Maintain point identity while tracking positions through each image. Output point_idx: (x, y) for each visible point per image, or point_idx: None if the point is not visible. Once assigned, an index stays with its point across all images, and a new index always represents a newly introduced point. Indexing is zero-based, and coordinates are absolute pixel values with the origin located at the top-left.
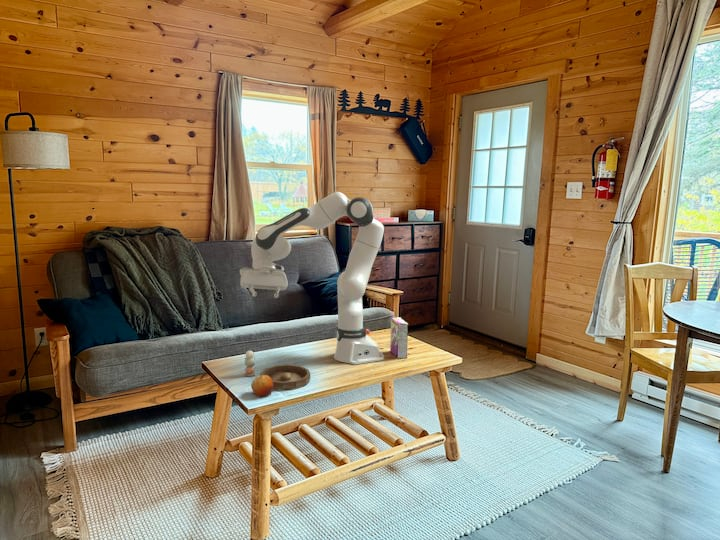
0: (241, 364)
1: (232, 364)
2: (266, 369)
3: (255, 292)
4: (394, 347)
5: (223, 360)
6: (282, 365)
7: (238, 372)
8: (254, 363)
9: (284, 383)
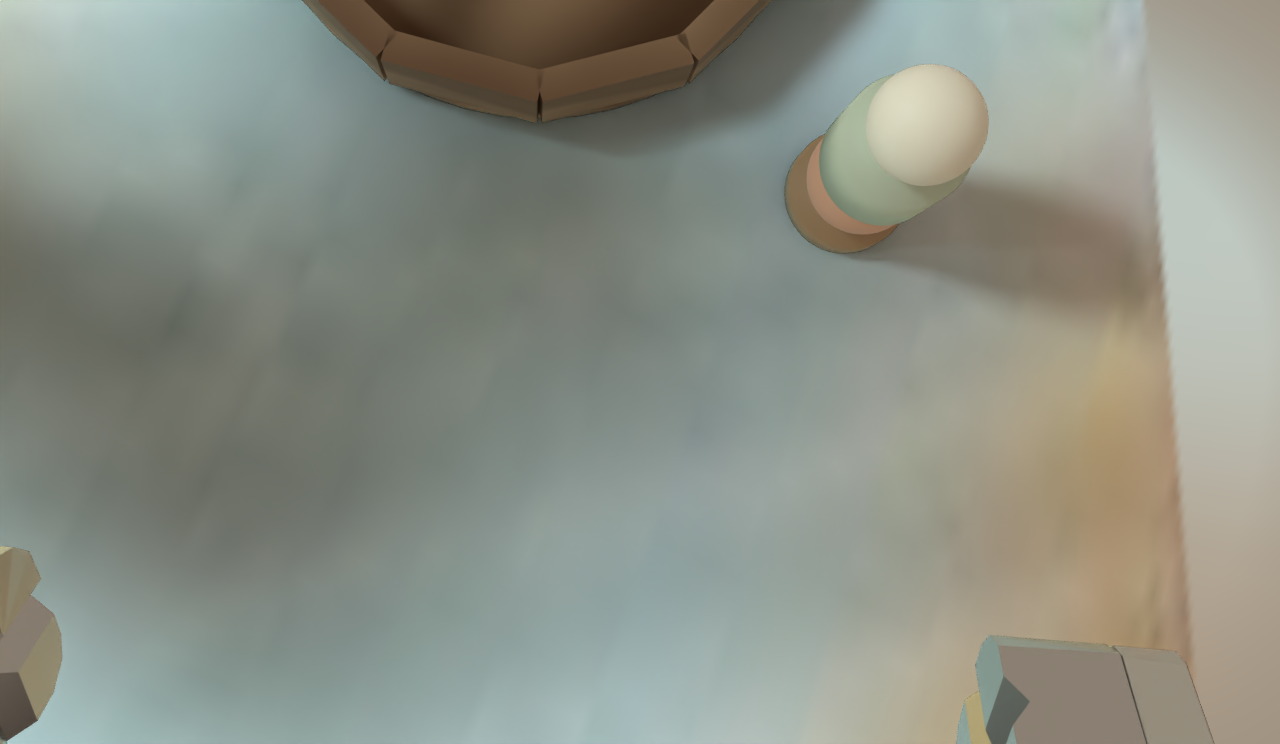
0: (819, 613)
1: (919, 666)
2: (696, 30)
3: (1096, 740)
4: None
5: None
6: (458, 66)
7: (932, 354)
8: (832, 125)
9: None
